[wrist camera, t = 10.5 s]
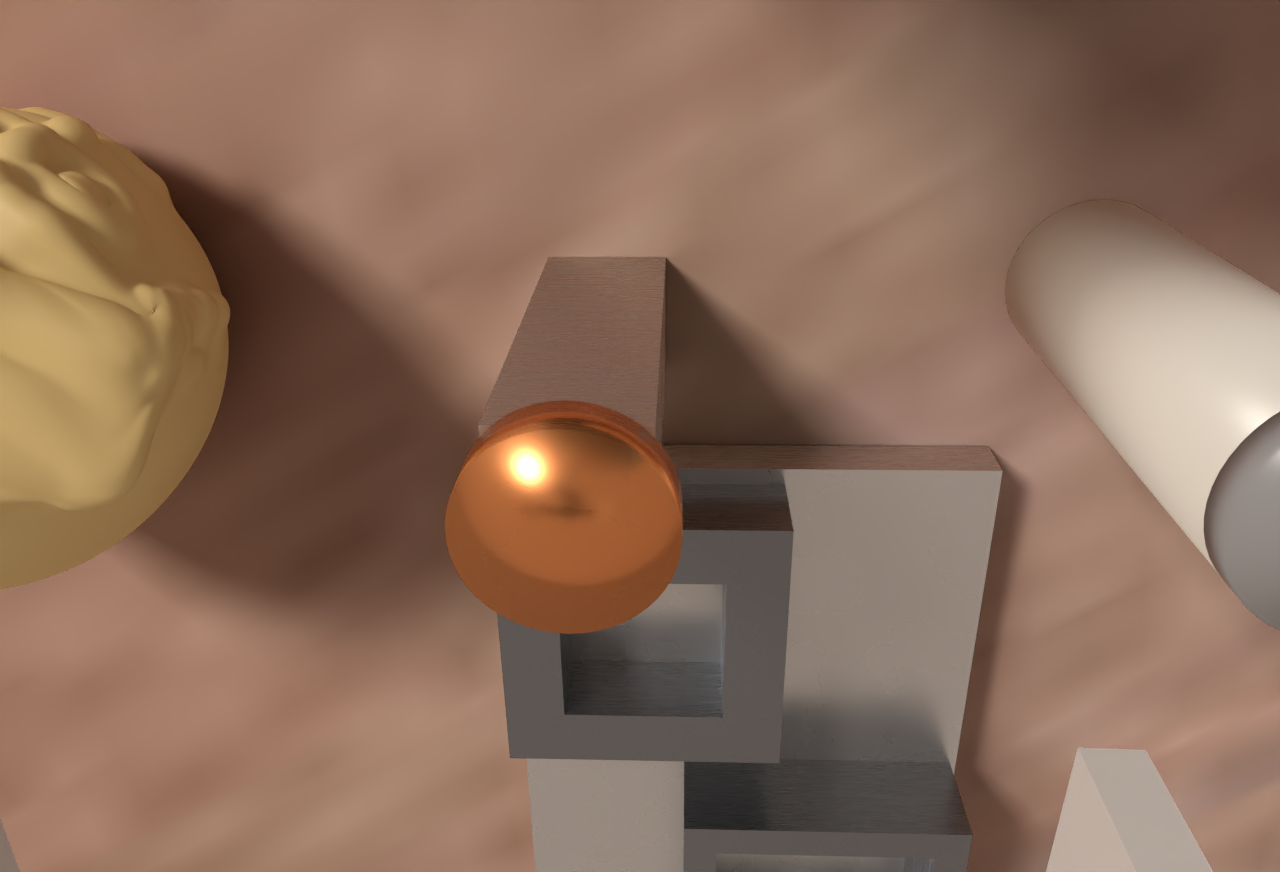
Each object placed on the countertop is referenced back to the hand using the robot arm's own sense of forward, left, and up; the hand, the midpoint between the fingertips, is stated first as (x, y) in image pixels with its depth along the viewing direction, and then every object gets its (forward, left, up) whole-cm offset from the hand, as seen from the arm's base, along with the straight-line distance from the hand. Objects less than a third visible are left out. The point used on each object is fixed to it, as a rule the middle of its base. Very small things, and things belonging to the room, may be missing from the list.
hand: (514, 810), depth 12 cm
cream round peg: (-1, +13, -18) cm, 22 cm away
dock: (+14, +4, -18) cm, 23 cm away
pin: (0, 0, -18) cm, 18 cm away
